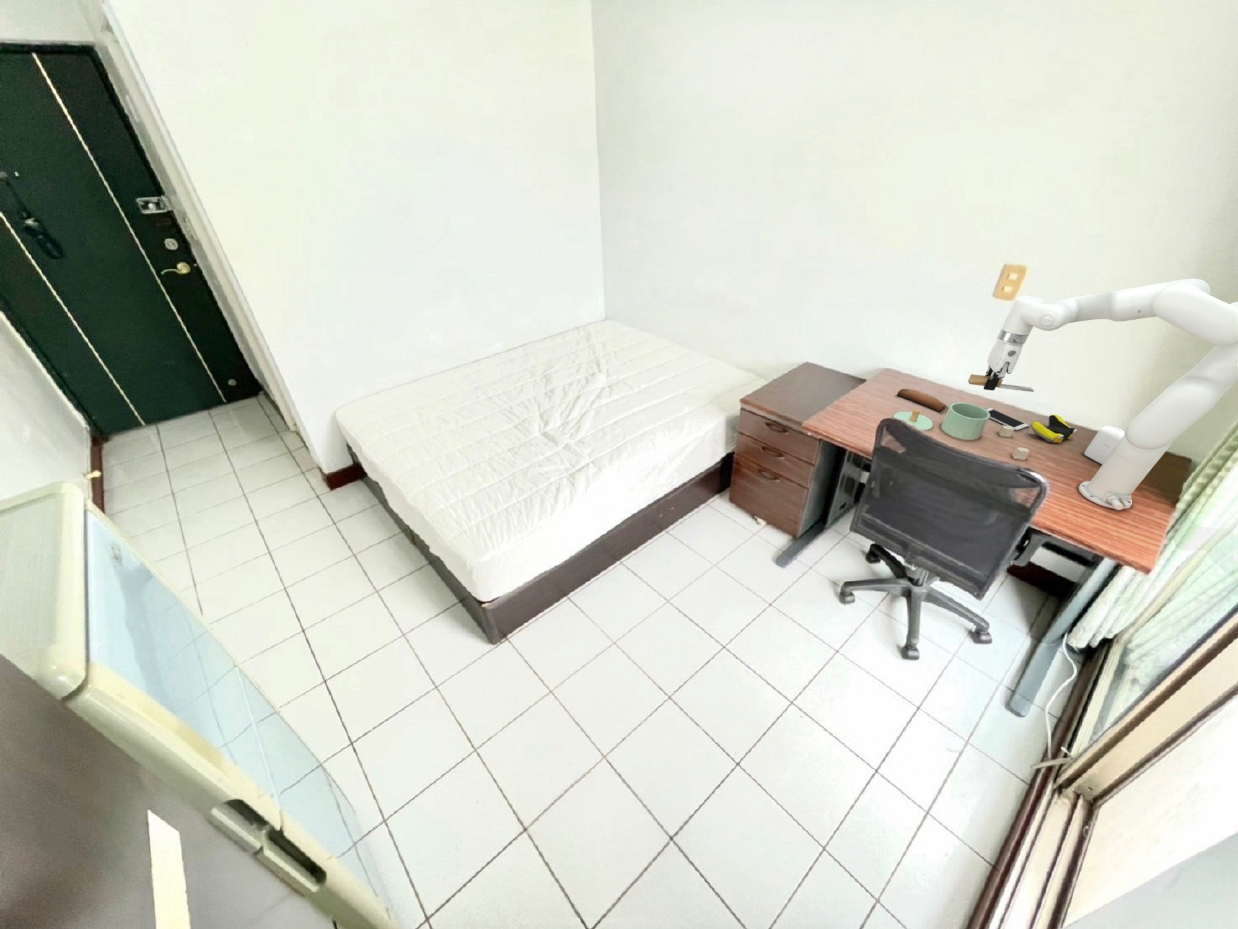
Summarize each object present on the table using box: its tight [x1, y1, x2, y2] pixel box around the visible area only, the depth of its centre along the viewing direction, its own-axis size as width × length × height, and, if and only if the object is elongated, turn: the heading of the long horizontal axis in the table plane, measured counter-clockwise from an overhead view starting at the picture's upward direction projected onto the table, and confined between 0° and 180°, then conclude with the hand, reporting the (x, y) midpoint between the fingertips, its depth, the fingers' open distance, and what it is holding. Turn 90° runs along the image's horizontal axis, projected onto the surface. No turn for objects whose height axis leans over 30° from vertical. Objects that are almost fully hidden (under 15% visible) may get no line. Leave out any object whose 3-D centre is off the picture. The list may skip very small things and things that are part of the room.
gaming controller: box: [1030, 414, 1078, 444], centre depth 177 cm, size 15×6×10 cm
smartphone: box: [985, 407, 1029, 431], centre depth 188 cm, size 8×1×15 cm
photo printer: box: [1083, 425, 1125, 465], centre depth 162 cm, size 10×4×12 cm, turn 14°
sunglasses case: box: [896, 388, 948, 413], centre depth 199 cm, size 18×7×7 cm
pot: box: [940, 401, 990, 441], centre depth 179 cm, size 13×13×9 cm
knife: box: [967, 373, 1035, 393], centre depth 164 cm, size 3×19×3 cm, turn 73°
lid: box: [892, 408, 934, 432], centre depth 185 cm, size 14×14×6 cm
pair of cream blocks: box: [998, 425, 1030, 461], centre depth 172 cm, size 17×3×4 cm, turn 163°
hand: (987, 387), depth 167 cm, fingers closed on knife, 2 cm apart
